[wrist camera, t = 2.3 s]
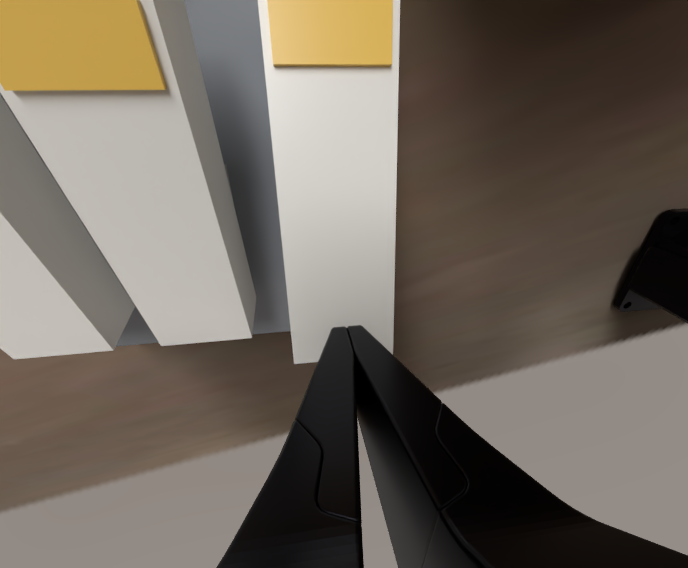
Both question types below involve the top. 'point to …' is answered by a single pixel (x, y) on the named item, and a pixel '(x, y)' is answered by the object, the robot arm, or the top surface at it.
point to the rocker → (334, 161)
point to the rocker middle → (134, 153)
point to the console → (237, 151)
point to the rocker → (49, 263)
